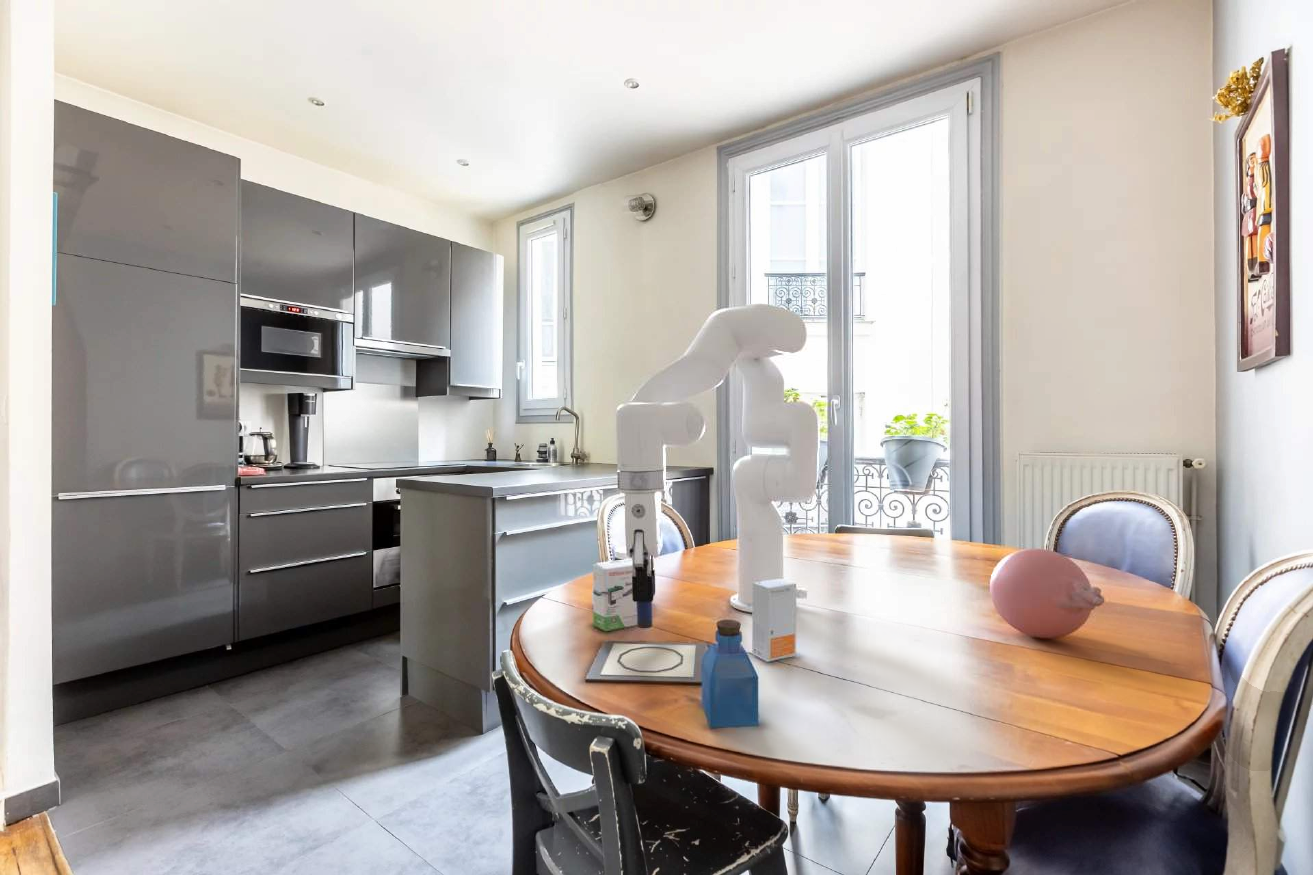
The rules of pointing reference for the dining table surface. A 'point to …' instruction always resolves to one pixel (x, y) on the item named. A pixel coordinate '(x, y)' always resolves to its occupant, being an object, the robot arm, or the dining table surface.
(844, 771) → the dining table surface
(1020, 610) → the balloon
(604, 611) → the ink box
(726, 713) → the perfume bottle
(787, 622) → the cosmetic box
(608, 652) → the drawing board
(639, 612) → the marker
